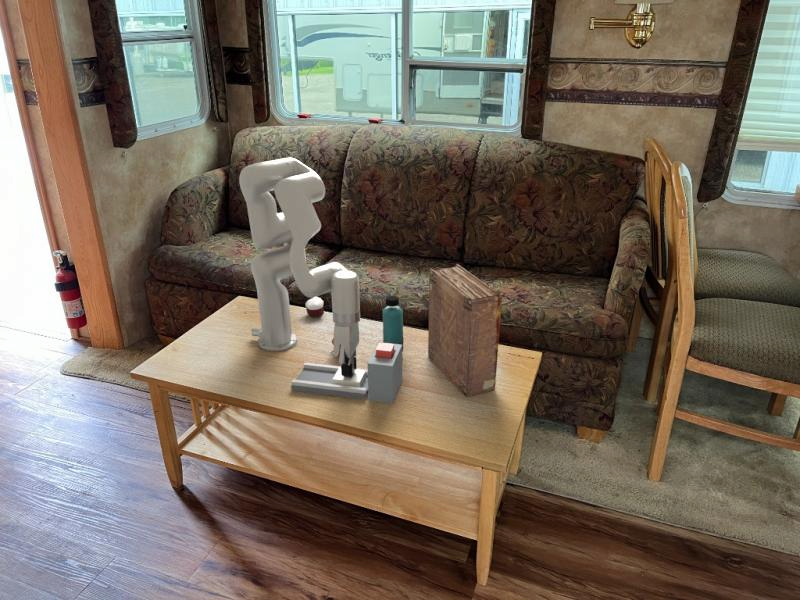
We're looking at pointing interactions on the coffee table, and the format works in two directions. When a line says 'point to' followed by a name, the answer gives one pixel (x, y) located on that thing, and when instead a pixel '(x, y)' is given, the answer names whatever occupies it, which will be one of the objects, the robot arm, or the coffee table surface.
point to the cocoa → (314, 307)
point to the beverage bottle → (393, 322)
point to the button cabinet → (385, 376)
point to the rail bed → (326, 382)
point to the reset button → (385, 350)
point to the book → (464, 329)
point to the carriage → (350, 381)
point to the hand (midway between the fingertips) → (349, 371)
